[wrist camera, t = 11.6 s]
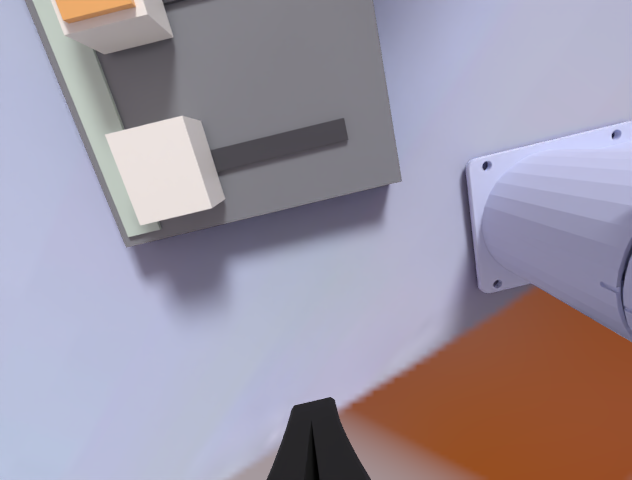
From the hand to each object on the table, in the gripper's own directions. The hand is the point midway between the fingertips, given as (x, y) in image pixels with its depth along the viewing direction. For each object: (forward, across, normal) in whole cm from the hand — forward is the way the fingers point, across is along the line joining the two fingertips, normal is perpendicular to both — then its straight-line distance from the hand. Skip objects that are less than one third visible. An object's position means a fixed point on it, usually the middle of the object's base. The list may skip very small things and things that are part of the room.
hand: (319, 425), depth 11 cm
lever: (+7, +4, -9) cm, 12 cm away
